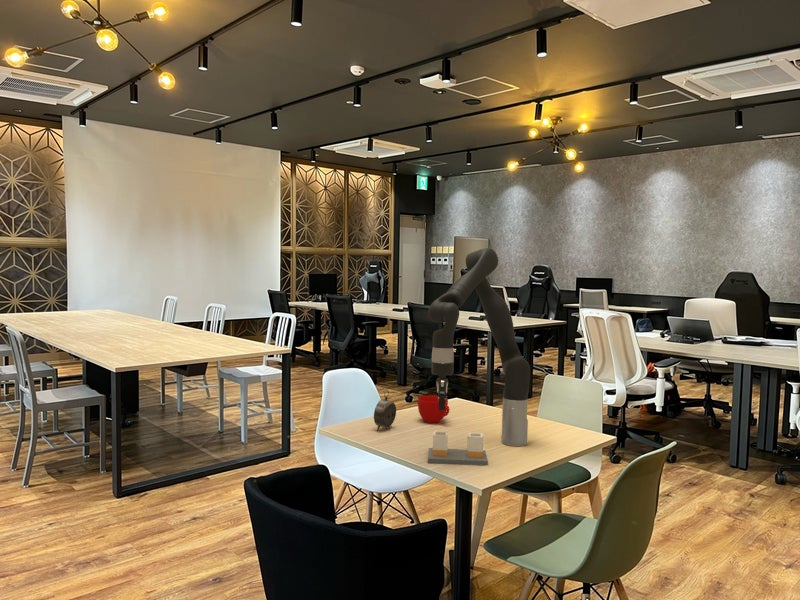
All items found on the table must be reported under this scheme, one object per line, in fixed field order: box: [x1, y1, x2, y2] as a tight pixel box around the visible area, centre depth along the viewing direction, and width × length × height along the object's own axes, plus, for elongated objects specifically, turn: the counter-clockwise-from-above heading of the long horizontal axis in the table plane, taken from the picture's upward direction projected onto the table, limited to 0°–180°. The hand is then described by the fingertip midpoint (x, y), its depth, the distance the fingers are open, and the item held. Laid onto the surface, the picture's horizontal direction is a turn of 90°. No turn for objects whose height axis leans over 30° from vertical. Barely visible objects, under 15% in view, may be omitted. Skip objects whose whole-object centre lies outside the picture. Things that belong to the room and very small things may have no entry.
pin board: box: [427, 432, 489, 466], centre depth 202 cm, size 20×12×8 cm, turn 86°
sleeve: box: [432, 430, 449, 456], centre depth 203 cm, size 5×5×7 cm
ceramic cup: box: [417, 395, 450, 424], centre depth 251 cm, size 13×17×10 cm
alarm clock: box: [373, 389, 397, 432], centre depth 238 cm, size 11×5×16 cm, turn 149°
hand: (441, 407), depth 202 cm, fingers open, 8 cm apart
